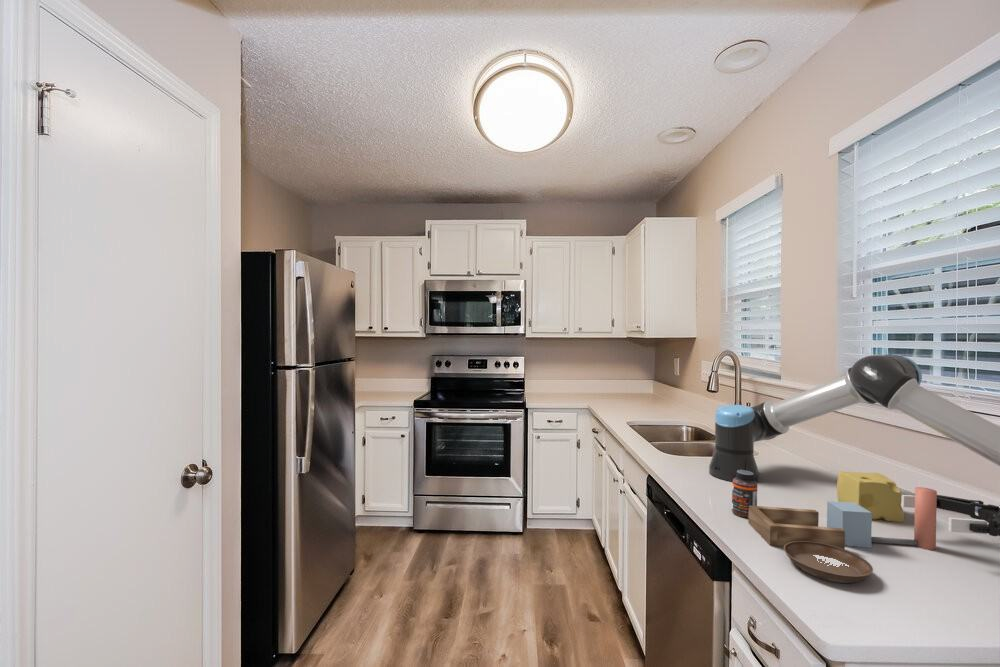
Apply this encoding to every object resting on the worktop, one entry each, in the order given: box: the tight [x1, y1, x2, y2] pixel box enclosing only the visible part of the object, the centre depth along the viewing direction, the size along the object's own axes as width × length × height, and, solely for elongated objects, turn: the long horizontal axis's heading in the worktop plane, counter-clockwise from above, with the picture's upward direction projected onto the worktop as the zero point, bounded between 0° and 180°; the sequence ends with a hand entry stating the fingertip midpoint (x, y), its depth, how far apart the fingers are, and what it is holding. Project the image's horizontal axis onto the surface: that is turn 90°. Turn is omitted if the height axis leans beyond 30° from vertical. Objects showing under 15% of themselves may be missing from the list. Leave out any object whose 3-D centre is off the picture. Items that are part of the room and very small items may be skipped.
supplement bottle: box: [731, 470, 758, 519], centre depth 119 cm, size 6×6×11 cm
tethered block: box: [826, 486, 938, 551], centre depth 103 cm, size 21×6×13 cm, turn 82°
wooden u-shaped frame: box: [747, 505, 846, 550], centre depth 106 cm, size 16×12×4 cm
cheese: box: [836, 470, 905, 523], centre depth 121 cm, size 10×11×10 cm
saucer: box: [783, 541, 874, 584], centre depth 92 cm, size 15×15×3 cm
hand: (924, 511), depth 102 cm, fingers open, 13 cm apart
